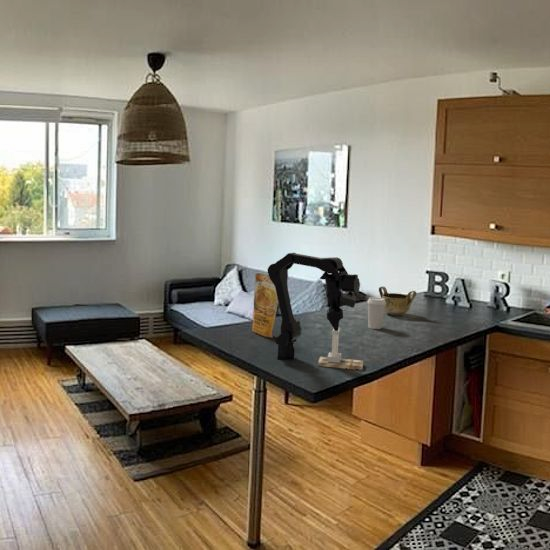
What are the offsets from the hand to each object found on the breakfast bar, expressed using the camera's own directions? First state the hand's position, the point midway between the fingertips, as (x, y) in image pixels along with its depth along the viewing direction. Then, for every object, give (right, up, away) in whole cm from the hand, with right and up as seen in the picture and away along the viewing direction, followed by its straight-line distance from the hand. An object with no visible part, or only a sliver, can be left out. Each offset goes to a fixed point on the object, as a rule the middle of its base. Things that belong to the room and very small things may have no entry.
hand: (336, 325), depth 244 cm
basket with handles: (+44, -2, +103) cm, 112 cm away
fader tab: (-1, -14, +2) cm, 14 cm away
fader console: (+2, -16, +2) cm, 16 cm away
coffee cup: (+26, -7, +69) cm, 74 cm away
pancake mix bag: (-30, -8, +46) cm, 55 cm away
